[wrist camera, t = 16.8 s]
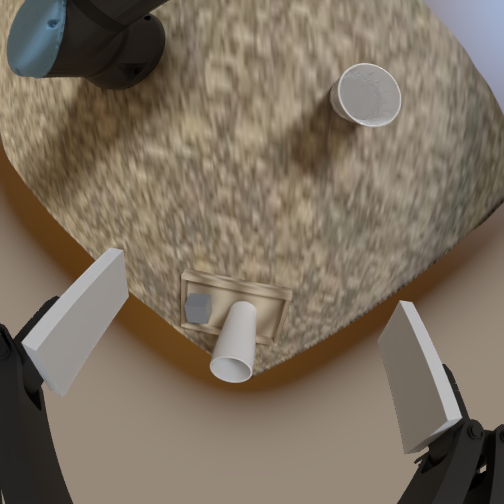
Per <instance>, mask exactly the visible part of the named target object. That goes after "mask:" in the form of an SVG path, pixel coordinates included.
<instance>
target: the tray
mask: <svg viewBox="0 0 504 504" xmlns="http://www.w3.org/2000/svg"><path fill="white" fill-rule="evenodd" d="M190 293H197V294H210V295H211V303H212V314H211V316H210V319H209V322H208V324H202V323H192V322H187V317H186V312H185V307H184V305H185V303H186V301H187V299H188V297H189V295H190ZM291 299H292V289H288V288H283V287H277V286H272V285H267V284H261V283H256V282H251V281H246V280H241V279H236V278H231V277H226V276H221V275H216V274H211V273H206V272H201V271H196V270H192V269H187V268H185V270H184V272H183V273H182V275H181V327H185V328H189V329H193V330H197V331H202V332H206V333H211V334H215V335H220V332H221V330H222V328H223V325H224V323H225V321H226V318H227V316H228V313H229V310H230V307H231V306H232V305H233V304H234V303H236V302H238V301H246V302H249V303H251V304H252V305H254V307H255V308H256V310H257V319H256V343H261V344H266V345H272V346H277V344H278V341H279V338H280V335H281V332H282V328H283V325H284V322H285V319H286V316H287V312H288V309H289V306H290V303H291Z"/></svg>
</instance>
